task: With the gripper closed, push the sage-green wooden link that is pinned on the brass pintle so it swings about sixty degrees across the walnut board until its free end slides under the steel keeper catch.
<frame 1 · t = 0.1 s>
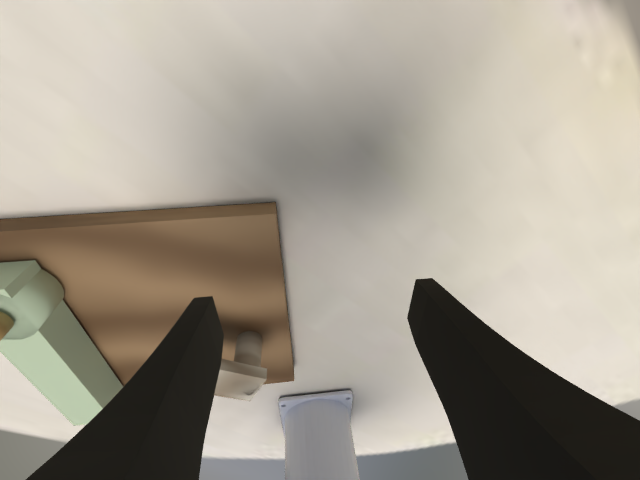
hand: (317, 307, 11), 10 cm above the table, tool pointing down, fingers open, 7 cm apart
board: (159, 312, 24), on the table
link: (57, 354, 21), point 3 cm above the table, hinge at 0.0°
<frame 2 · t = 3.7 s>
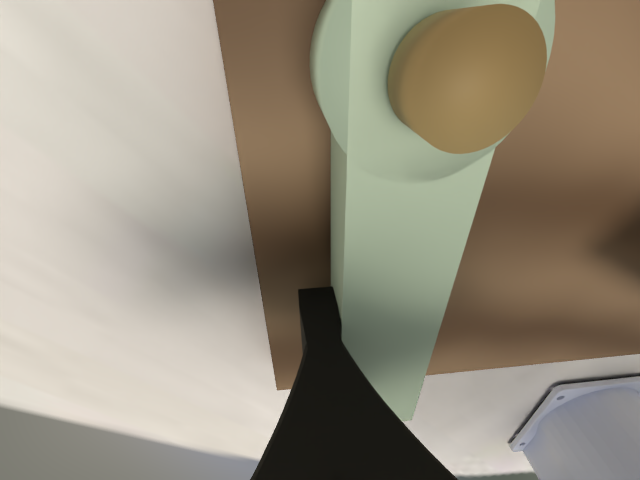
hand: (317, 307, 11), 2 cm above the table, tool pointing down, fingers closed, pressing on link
board: (513, 202, 12), on the table
link: (385, 265, 9), point 3 cm above the table, hinge at 0.6°, touching gripper
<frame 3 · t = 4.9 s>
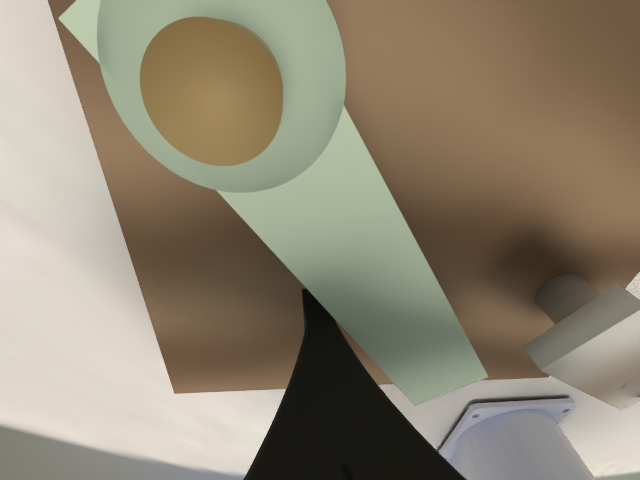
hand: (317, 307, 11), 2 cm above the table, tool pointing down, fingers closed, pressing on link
board: (409, 221, 12), on the table
link: (357, 247, 9), point 3 cm above the table, hinge at 36.7°, touching gripper
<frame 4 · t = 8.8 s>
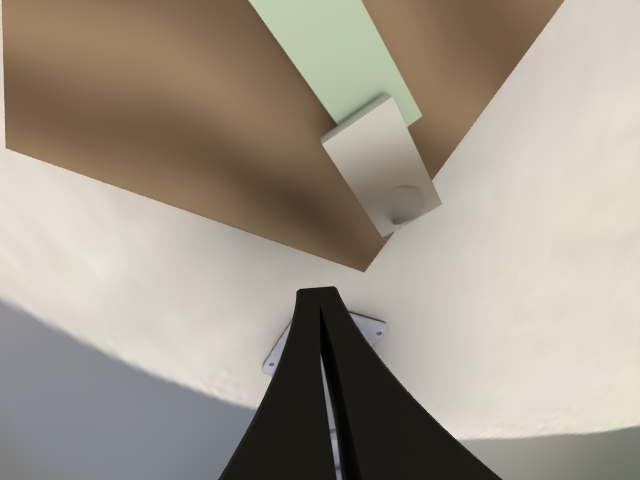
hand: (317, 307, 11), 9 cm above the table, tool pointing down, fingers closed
board: (280, 58, 15), on the table
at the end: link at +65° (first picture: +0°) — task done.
